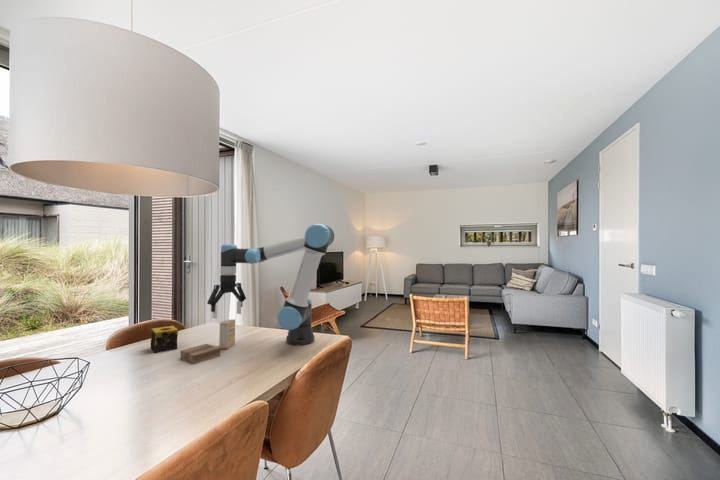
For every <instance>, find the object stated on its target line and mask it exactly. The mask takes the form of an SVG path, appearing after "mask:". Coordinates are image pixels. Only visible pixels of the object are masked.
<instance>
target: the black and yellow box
mask: <svg viewBox="0 0 720 480" xmlns="http://www.w3.org/2000/svg"><path fill="white" fill-rule="evenodd" d="M150 330H151V334H150V335H151V339H150V350H151V351H152V352H153V353H154V354H157V353H158V352H159V353H162V352H168V351H173V350H177V349H178V335H179V334H178V333H179V332H178V331H179V330H178V328H177V327H175V325H170V326H162V327H154V328H151V329H150Z"/></svg>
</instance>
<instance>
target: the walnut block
mask: <svg viewBox="0 0 720 480" xmlns="http://www.w3.org/2000/svg"><path fill="white" fill-rule="evenodd" d="M218 357H221V349H220V348H219V346H218V347H217V346H214V345H211V344H207V343H205V344H200V345H197V346H193V347H189V348H186V349H182V350H180V359H181V360H183V361H186V362H188V363H191V364H193V365H196V364H199V363H203V362H206V361H209V360H212V359H215V358H218Z"/></svg>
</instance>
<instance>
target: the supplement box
mask: <svg viewBox="0 0 720 480" xmlns="http://www.w3.org/2000/svg"><path fill="white" fill-rule="evenodd" d="M235 343H236V319H225V320H223V321H221V322H220V323H219V343H218V344H219V346H218V348H220V350H229V349H230V348H231V347H233V346H234V345H235Z"/></svg>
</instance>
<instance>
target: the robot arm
mask: <svg viewBox="0 0 720 480" xmlns="http://www.w3.org/2000/svg"><path fill="white" fill-rule="evenodd" d="M334 241H335V232H334V230H333V229H332V228H331V227H330V226H328V225H325V224H323V223H313V224H311V225H309V227H307V228H306V230H305V232H304V235H300V236H296V237H293V238H290V239H286V240H283V241H280V242H279V241H278V242H276V243H275V242H274V243H272V244H269V245H265V246H261V247H257V248H238V246H237V244H222V245H221V246H220V247H221V249H220V271H219V272H220V275H219V277H220V278H219V282H220V284H214V285H213V290H212V291H211V294H210V296H209V298H208V300H207V304H208V305H210V311H211V312H212V314H211V315H212V319H215V320H216V319H218V305H217V304H218V302H219V301H220V300H221V298H222V297H223V295H225V294H227V293H232V295H234V297H235V298H236V299H237V300H236V314H238V315H241V314H242V307H243V302H245V300H246V299H247V297H246V295H245V293H244V292H245V291H244V290H243V288H242V282H236V281H237V275H236V274H237V264H258V263H263V262H265V261H267V260H272V259H275V258H278V257H282V256H285V255H290V254H292V253H297V252H300V251H304V253H303V257H302V260H301V263H300V265H299V269H298V272H297V274H296V278H295V281H294V283H293V286H292V289H291V293H290V296H288V297H286V298H285V300H284V303H283V306H282V308H281V309H280V310H279V311H278V314H277V322H278V324H279V326H280V327H281V328H283V329H284V330H286V331H287V330H288V332H287V336H286V338H285V339H286V340H285V343H286V344H288V345H292V346H305V345H310V344H312V343H314V342H315V339H316V337H315V335H314V334H315V333H314V330H313V327H312V306H313V304H312V299H310V298H309V295H310V291H311V289H312V285H313V283H314V280H315V277H316V275H317V270H318V268H319V265H320V262H321V259H322V257H323V256H325V255H326V253H327V251H328V248H329V246H331V245H332V244H333V242H334Z"/></svg>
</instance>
